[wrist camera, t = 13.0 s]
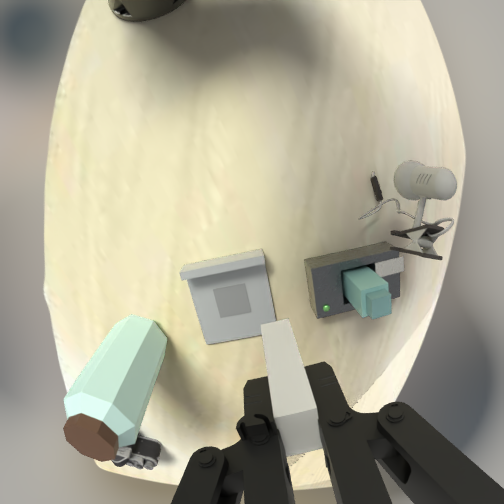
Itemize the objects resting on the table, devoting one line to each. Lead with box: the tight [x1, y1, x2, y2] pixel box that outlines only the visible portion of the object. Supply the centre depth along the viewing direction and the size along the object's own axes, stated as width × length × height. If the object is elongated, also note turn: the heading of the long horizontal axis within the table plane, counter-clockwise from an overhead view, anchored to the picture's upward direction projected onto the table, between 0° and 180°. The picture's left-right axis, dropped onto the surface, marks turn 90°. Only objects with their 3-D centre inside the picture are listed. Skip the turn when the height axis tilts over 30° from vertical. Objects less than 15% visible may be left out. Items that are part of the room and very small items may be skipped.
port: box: [304, 242, 404, 319], centre depth 44 cm, size 8×15×5 cm, turn 101°
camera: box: [112, 435, 161, 470], centre depth 50 cm, size 16×8×10 cm, turn 77°
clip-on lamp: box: [358, 160, 457, 260], centre depth 35 cm, size 12×6×18 cm, turn 170°
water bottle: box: [63, 314, 167, 462], centre depth 36 cm, size 10×10×25 cm
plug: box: [341, 265, 391, 319], centre depth 40 cm, size 4×4×12 cm
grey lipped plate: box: [180, 249, 276, 344], centre depth 45 cm, size 14×12×4 cm
